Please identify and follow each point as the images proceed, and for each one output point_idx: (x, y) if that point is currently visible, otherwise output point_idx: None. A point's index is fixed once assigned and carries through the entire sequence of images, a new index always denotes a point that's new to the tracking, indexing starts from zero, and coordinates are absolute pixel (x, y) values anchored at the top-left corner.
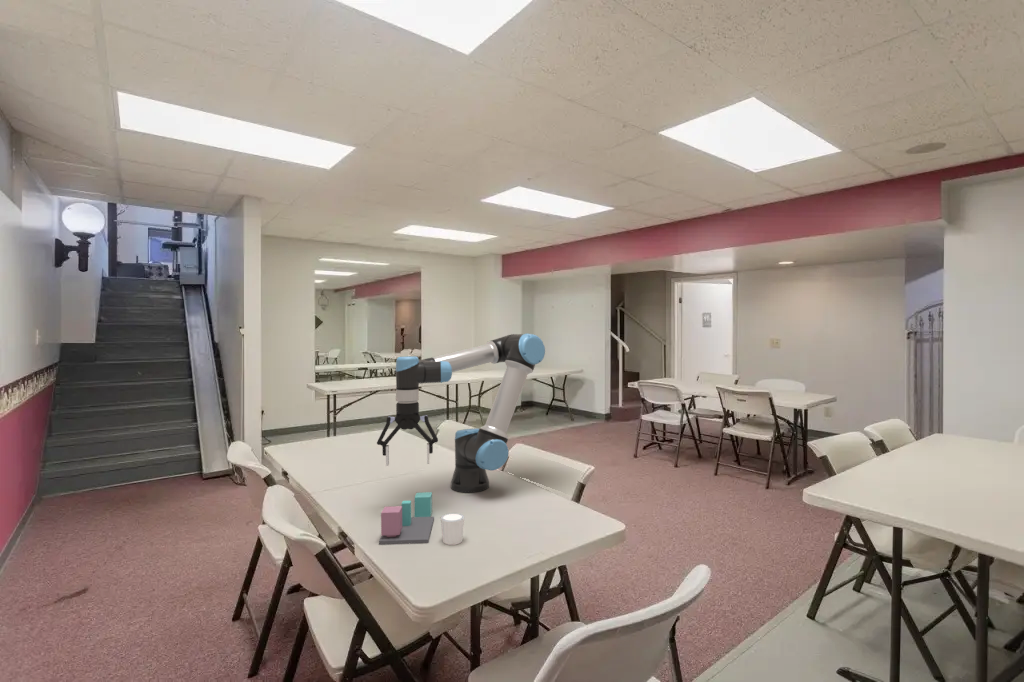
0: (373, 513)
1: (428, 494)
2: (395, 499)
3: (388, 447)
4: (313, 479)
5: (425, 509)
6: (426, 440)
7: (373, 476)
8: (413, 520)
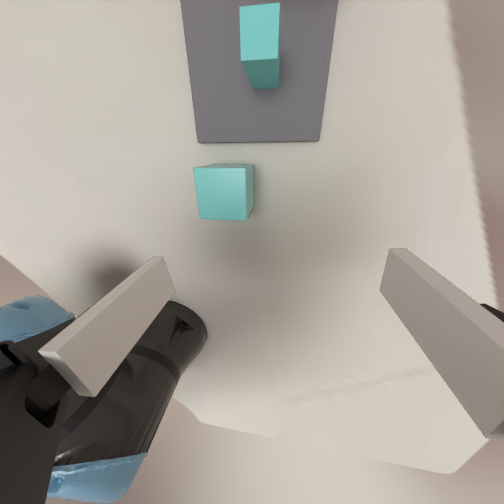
0: (365, 206)
1: (205, 197)
2: (311, 289)
3: (489, 386)
4: None
5: (220, 165)
6: (4, 408)
7: (359, 400)
8: (249, 110)
